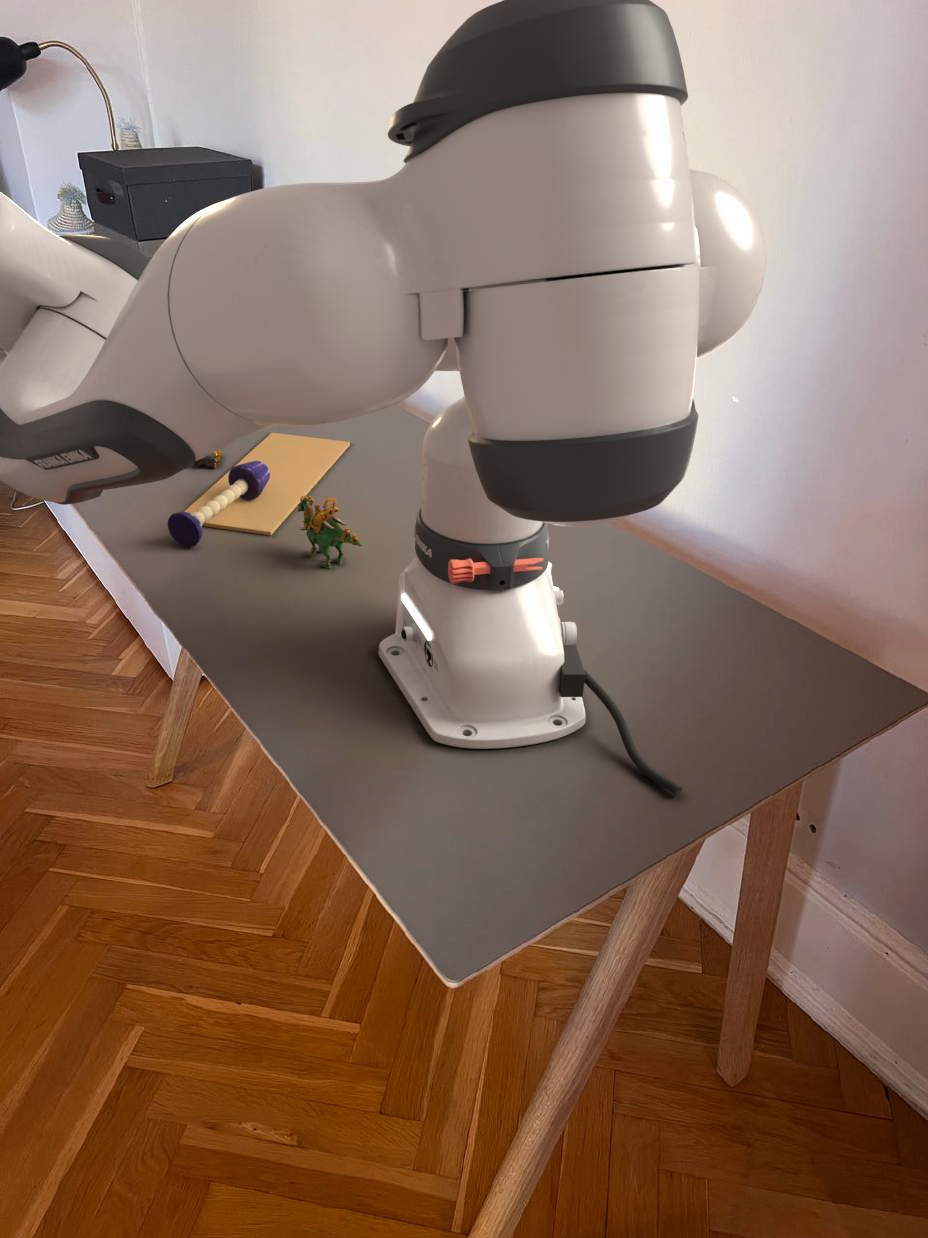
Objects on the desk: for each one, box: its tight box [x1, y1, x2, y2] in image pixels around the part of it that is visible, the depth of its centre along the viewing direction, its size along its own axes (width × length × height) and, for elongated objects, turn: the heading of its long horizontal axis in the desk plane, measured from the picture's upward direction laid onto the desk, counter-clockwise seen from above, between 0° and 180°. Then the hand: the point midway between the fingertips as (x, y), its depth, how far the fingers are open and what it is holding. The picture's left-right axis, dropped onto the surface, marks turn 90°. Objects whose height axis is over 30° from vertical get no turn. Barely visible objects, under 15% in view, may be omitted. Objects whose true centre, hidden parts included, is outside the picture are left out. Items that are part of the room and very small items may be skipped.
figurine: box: [297, 495, 363, 569], centre depth 100 cm, size 3×12×8 cm, turn 42°
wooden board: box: [183, 432, 351, 536], centre depth 121 cm, size 30×12×1 cm, turn 168°
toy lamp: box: [167, 461, 270, 548], centre depth 109 cm, size 5×5×17 cm
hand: (152, 422), depth 88 cm, fingers closed
